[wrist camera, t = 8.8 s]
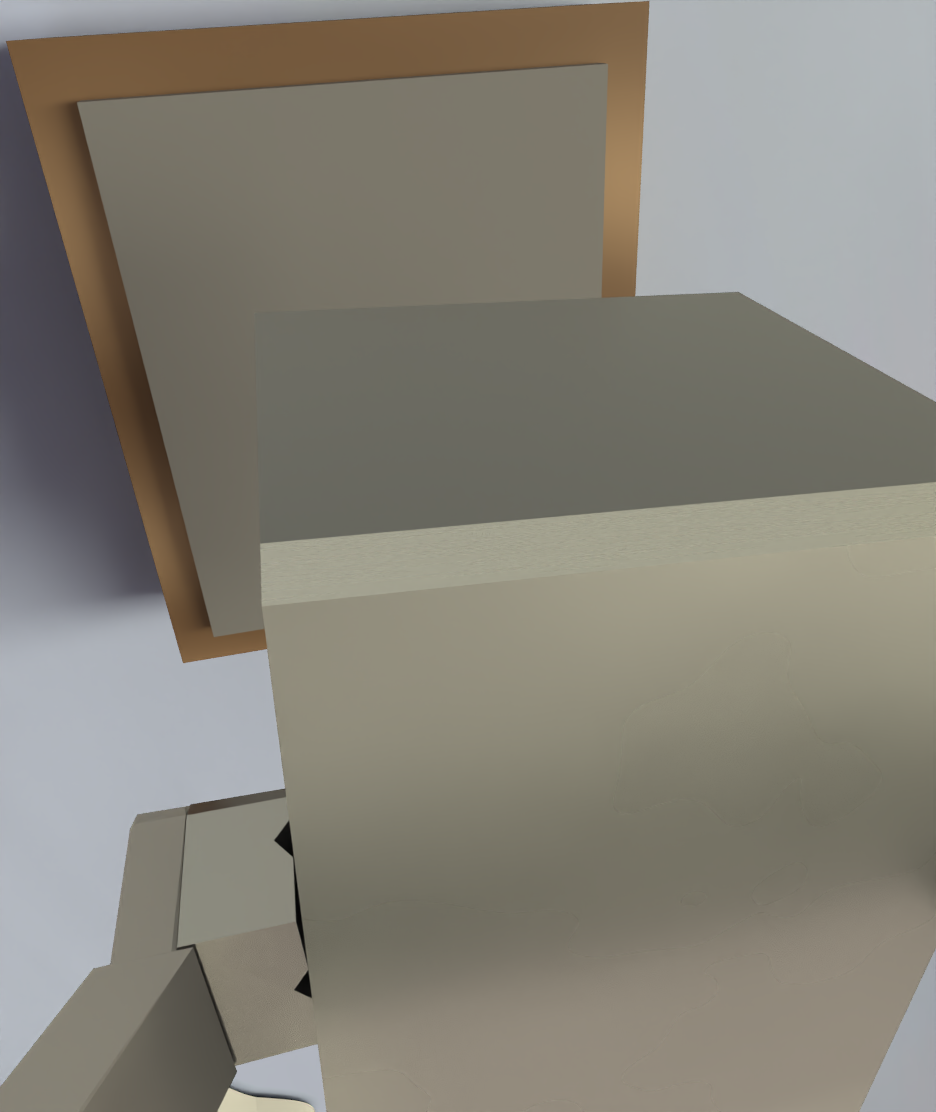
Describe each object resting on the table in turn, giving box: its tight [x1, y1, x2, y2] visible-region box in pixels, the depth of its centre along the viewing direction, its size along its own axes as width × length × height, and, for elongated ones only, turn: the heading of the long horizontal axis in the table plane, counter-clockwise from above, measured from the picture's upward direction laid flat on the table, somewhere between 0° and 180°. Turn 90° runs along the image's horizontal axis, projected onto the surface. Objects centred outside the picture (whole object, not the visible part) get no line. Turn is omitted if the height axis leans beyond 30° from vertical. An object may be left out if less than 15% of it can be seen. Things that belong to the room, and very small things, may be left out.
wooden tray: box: [6, 1, 649, 663], centre depth 21 cm, size 14×12×4 cm
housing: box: [254, 292, 936, 1112], centre depth 9 cm, size 5×9×5 cm, turn 179°
